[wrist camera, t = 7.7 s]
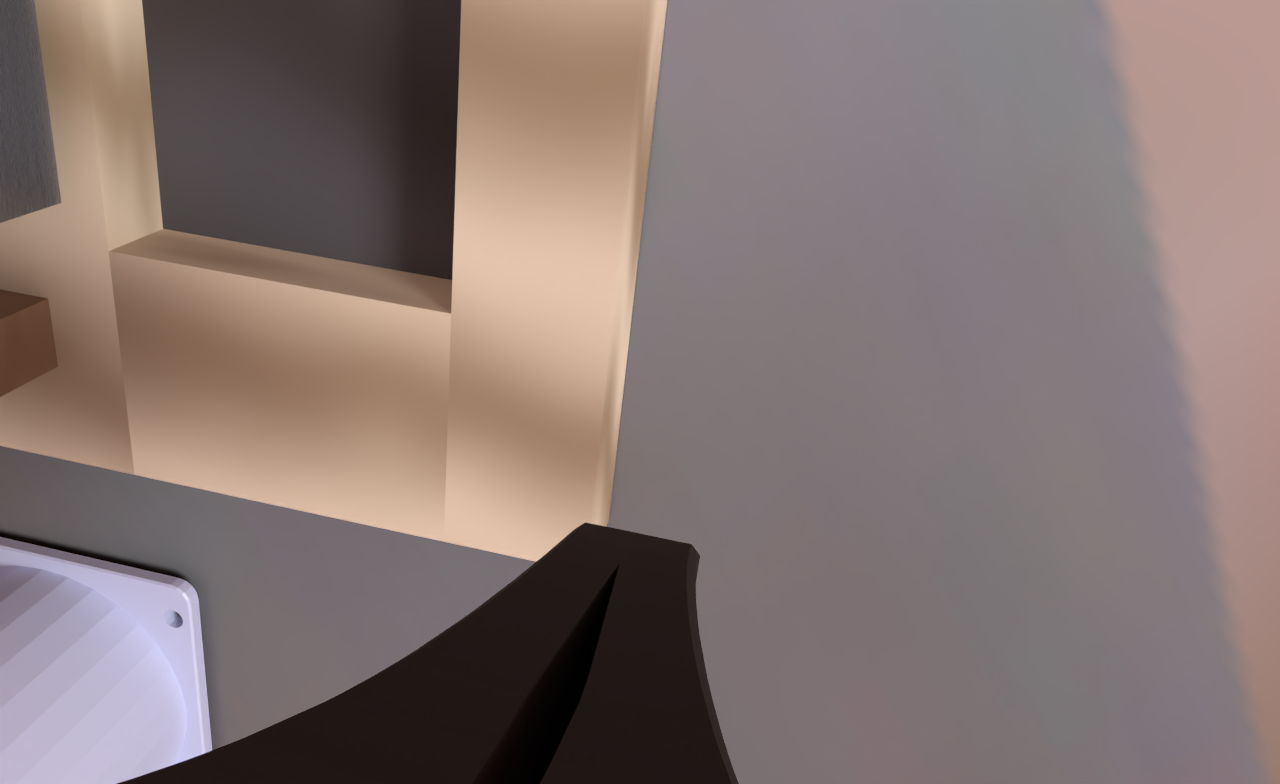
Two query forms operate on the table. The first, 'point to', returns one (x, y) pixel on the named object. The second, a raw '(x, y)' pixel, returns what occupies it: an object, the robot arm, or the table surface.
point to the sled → (24, 116)
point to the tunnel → (24, 339)
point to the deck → (344, 254)
